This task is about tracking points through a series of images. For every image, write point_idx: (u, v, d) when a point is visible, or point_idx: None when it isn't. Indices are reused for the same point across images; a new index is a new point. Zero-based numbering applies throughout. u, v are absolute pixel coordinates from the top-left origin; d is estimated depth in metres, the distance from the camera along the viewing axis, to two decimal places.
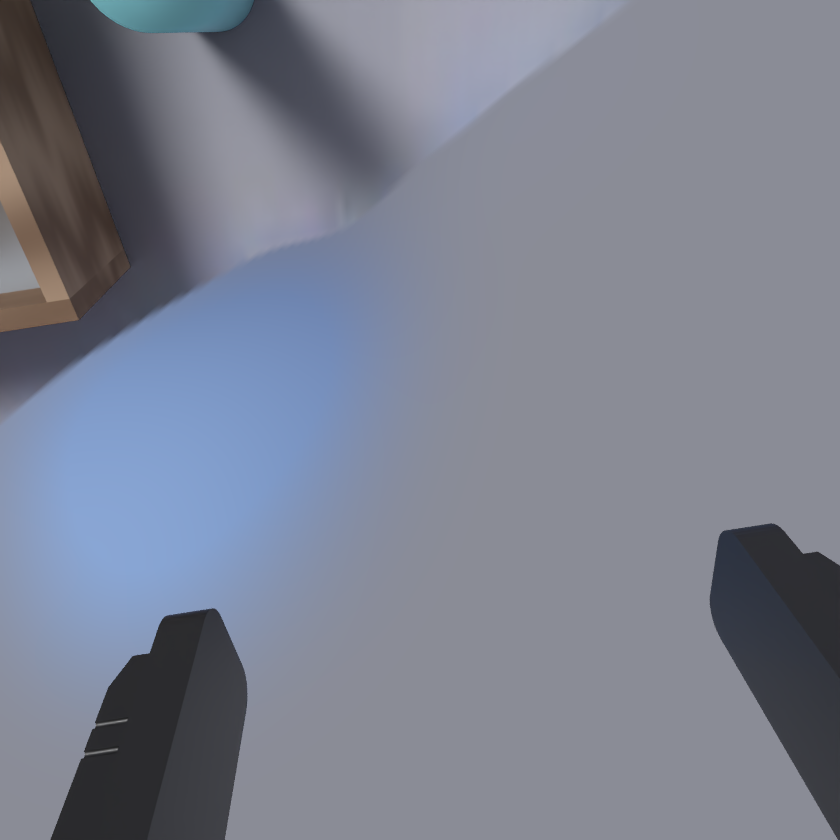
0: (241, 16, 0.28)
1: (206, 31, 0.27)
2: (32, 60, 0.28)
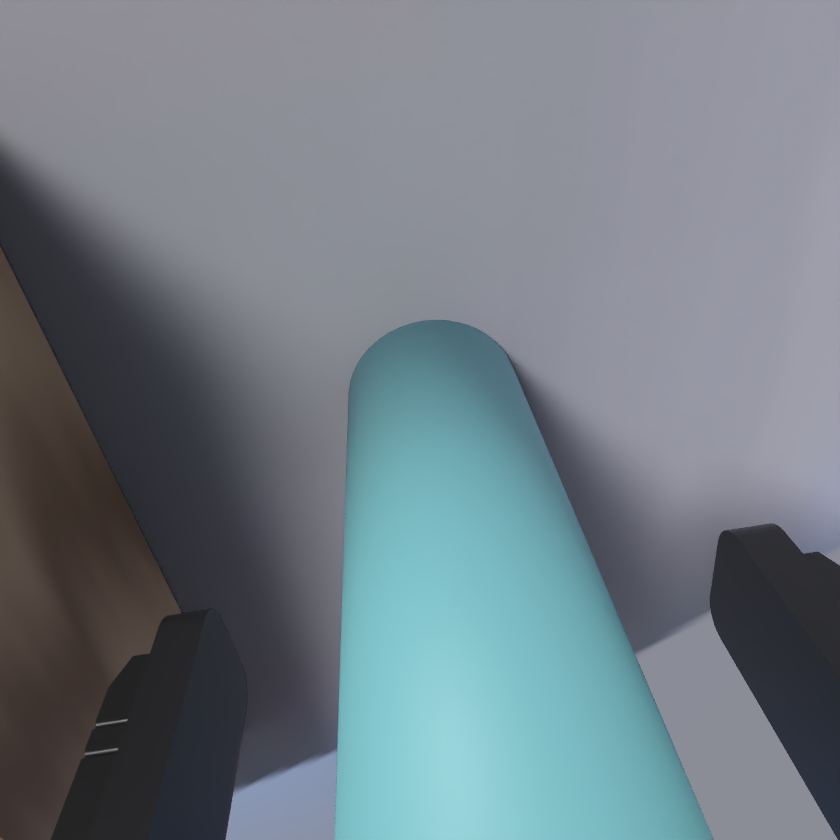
0: None
1: None
2: (105, 573, 0.15)
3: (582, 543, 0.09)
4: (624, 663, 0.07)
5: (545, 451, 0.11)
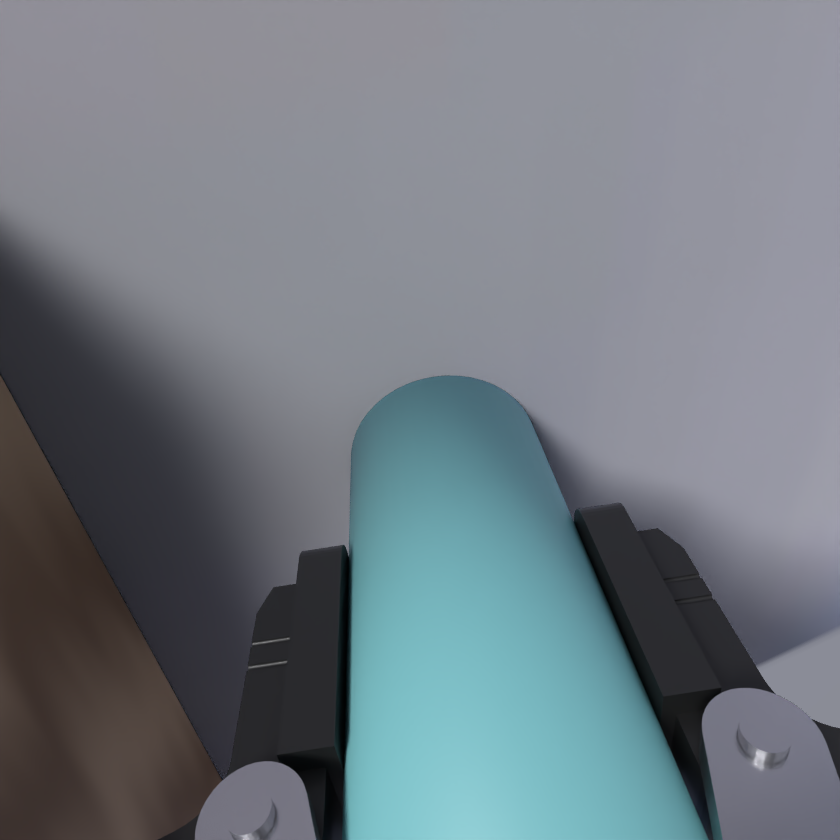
0: None
1: None
2: (80, 656, 0.13)
3: (629, 669, 0.08)
4: None
5: (577, 539, 0.10)
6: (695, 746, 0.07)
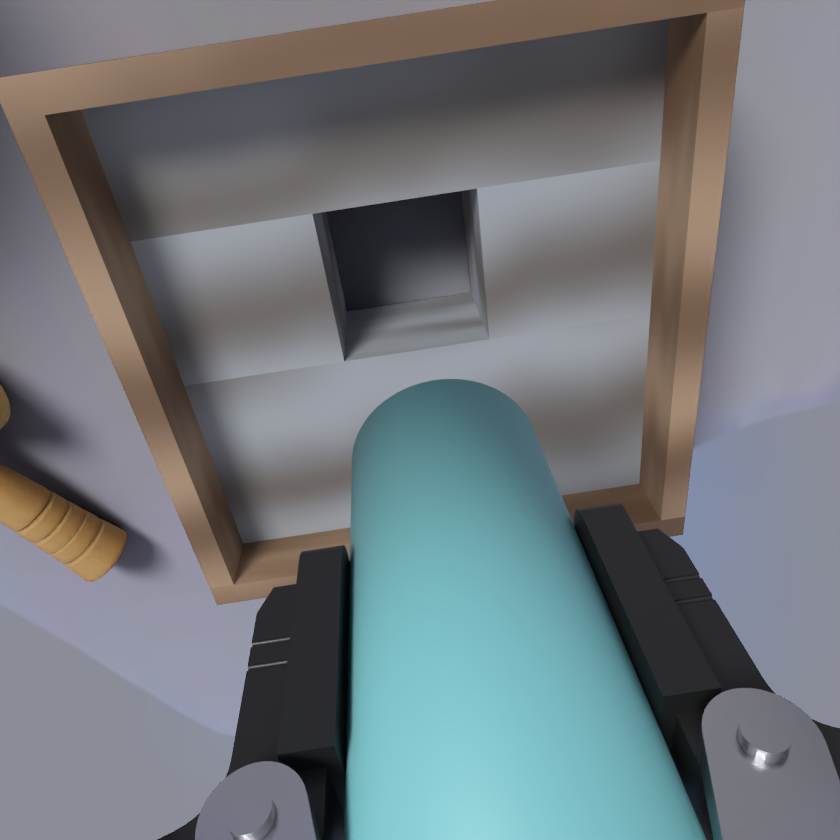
0: None
1: None
2: None
3: (629, 672, 0.08)
4: None
5: (577, 542, 0.10)
6: (695, 746, 0.07)
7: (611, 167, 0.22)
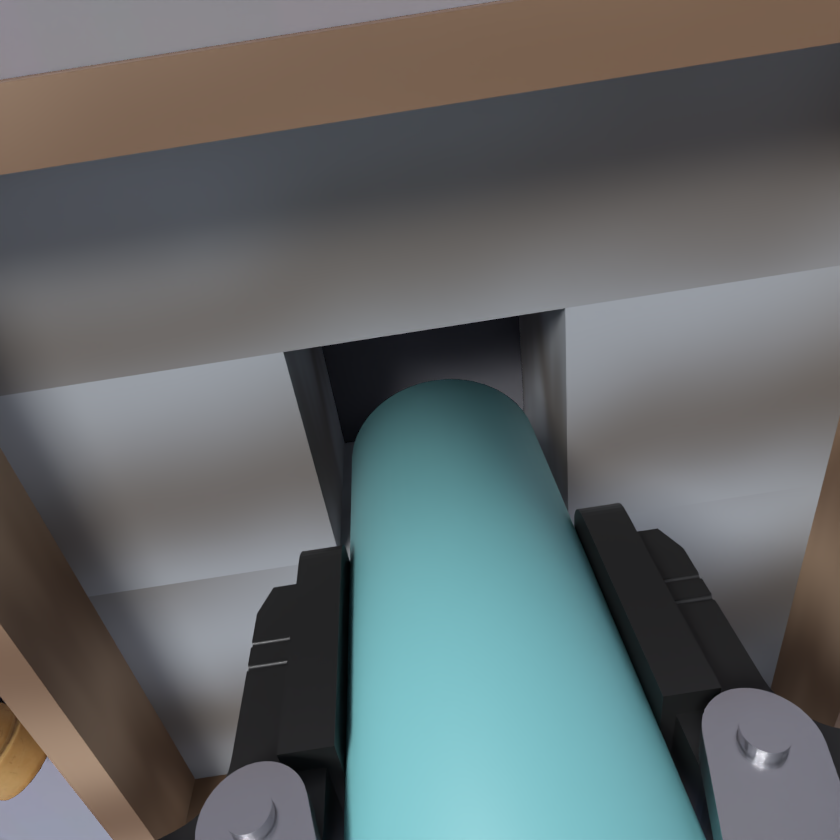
0: None
1: None
2: None
3: (629, 673, 0.08)
4: None
5: (577, 543, 0.10)
6: (695, 746, 0.07)
7: (795, 270, 0.13)
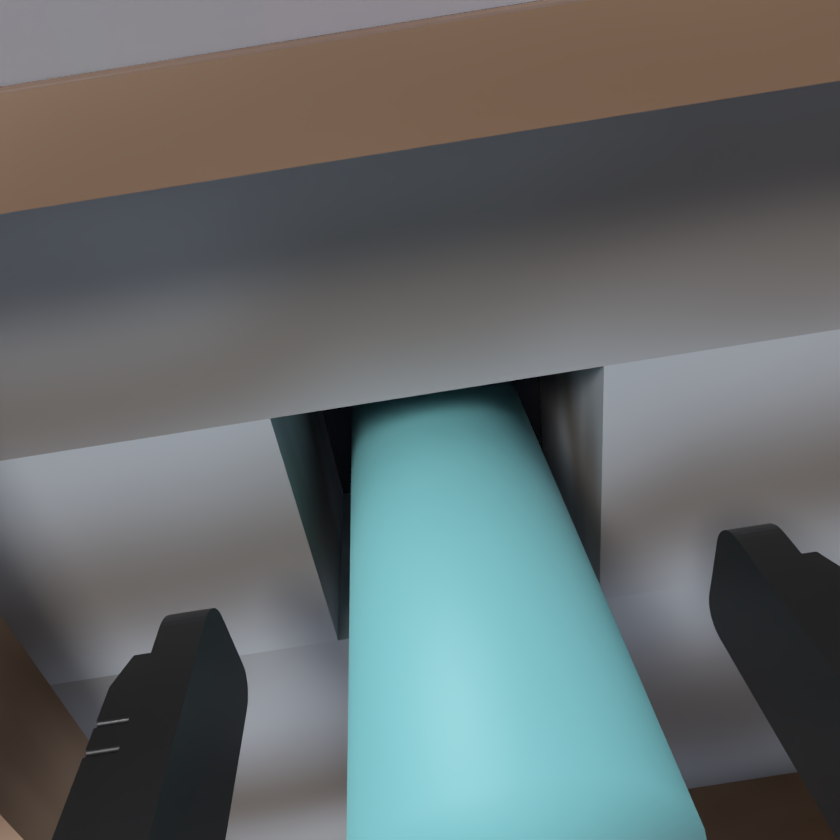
0: None
1: None
2: None
3: (564, 514, 0.10)
4: (598, 611, 0.09)
5: (533, 436, 0.13)
6: None
7: None
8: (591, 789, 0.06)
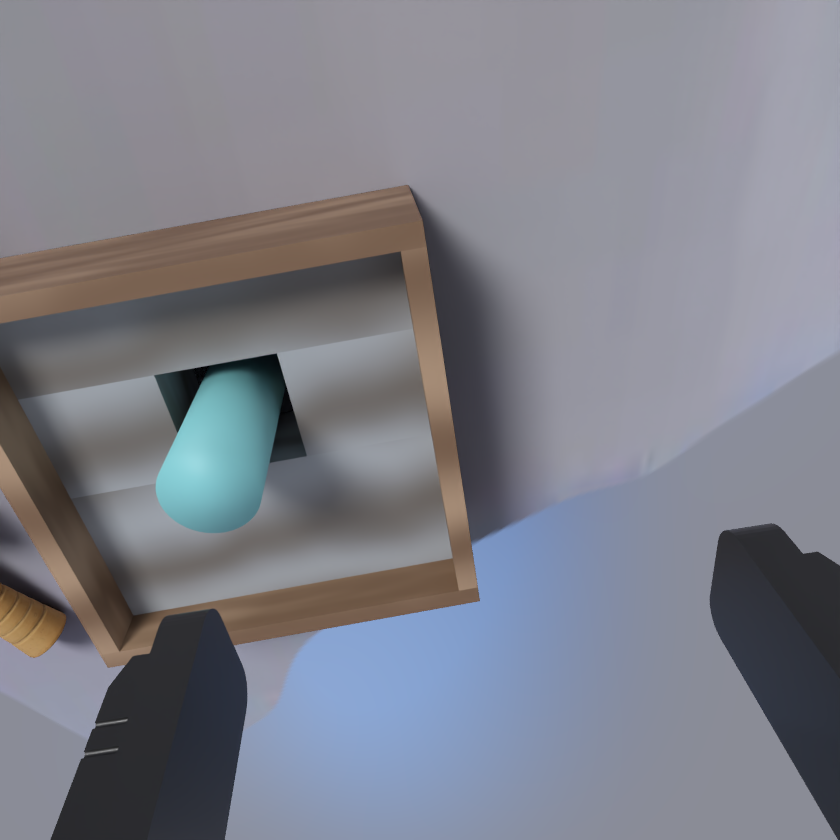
0: None
1: None
2: None
3: (259, 406, 0.29)
4: (248, 427, 0.27)
5: (267, 383, 0.31)
6: None
7: (377, 334, 0.29)
8: (213, 454, 0.24)
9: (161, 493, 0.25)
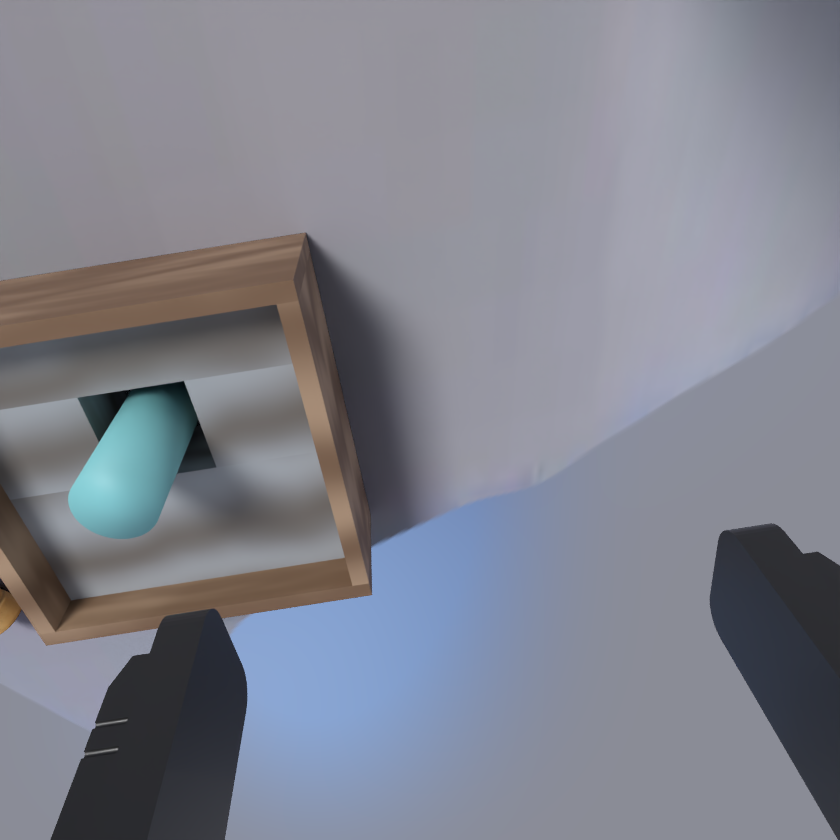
0: None
1: None
2: (341, 409, 0.38)
3: (167, 428, 0.33)
4: (152, 449, 0.31)
5: (180, 405, 0.35)
6: None
7: (271, 366, 0.33)
8: (115, 475, 0.29)
9: (73, 506, 0.30)
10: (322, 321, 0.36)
